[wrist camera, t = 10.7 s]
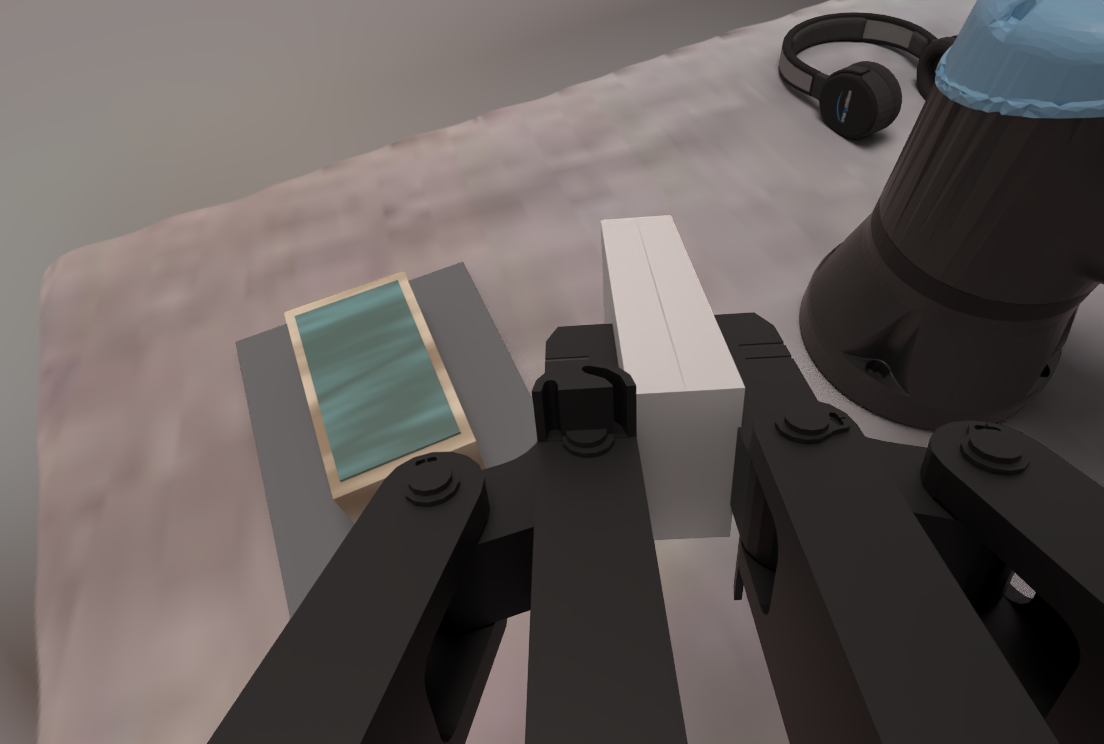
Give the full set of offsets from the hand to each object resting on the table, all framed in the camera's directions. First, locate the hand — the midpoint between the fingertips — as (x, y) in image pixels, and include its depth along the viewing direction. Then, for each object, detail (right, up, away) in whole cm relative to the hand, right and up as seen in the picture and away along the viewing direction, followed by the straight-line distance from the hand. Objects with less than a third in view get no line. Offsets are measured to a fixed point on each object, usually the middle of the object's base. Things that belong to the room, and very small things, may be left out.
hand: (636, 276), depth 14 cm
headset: (+27, +23, +45) cm, 57 cm away
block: (-10, -8, +22) cm, 25 cm away
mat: (-12, -6, +27) cm, 30 cm away
